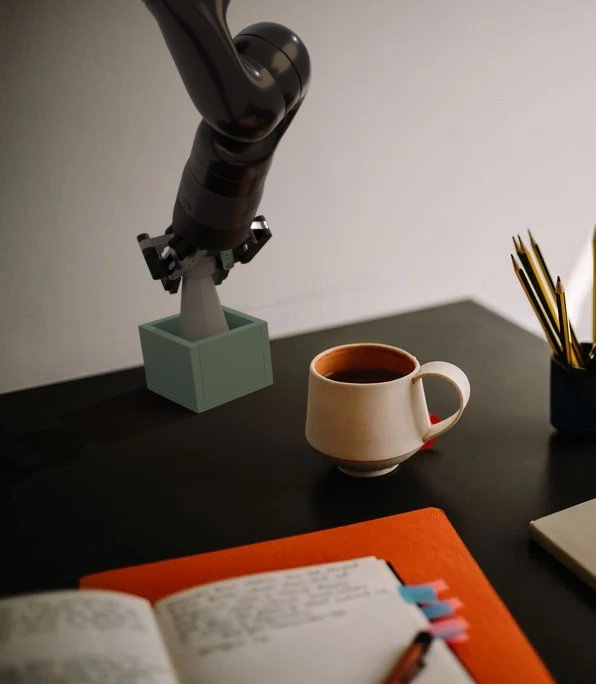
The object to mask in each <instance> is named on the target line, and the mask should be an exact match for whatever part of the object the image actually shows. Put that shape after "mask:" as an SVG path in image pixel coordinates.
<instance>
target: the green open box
mask: <svg viewBox="0 0 596 684" xmlns="http://www.w3.org/2000/svg"><path fill="white" fill-rule="evenodd" d="M221 306H222V309H223V312H224V315H225V318H226V321H227V324H228V327H229V331H226V332H223V333H220V334H217V335H214V336H211V337H208V338H205V339H202V340H199V341H196V342H193V343H192V342H189V341H187V340H185V339H182V338H180V337H179V325H180V312H179V313H176V314H172V315H169V316H165V317H162V318H158V319H155V320H152V321H149V322H146V323H142V324H138V325H137V328H138V333H139V341H140V347H141V354H142V360H143V368H144V373H145V379H146V380H145V381H146V386H147V390H150V391H151V392H153V393H155V394H157V395H160V396H162V397H164V398H166V399H168V400H169V401H171V402H174V403H176V404H178V405H180V406H181V407H184V408H186V409H188V410H190V411H192V412H194V413H196V414H199V415H200V414H201V413H205V412H207V411H209V410H212V409H215V408H217V407H219V406H222V405H224V404H227V403H230V402H232V401H234V400H238V399H239V398H242V397H244V396H247V395H250V394H253V393H255V392H257V391H261V390H262V389H265V388H267V387H271V386H273V385H274V375H273V374H274V373H273V365H272V356H271V355H272V354H271V353H272V352H271V344H270V333H269V321H267V320H263V319H262V318H258V317H256V316H253V315H250V314H247V313H245V312H242V311H240V310H237V309H234V308H231V307H228V306H226V305H223V304H221Z"/></svg>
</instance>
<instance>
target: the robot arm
mask: <svg viewBox="0 0 596 684" xmlns="http://www.w3.org/2000/svg"><path fill="white" fill-rule="evenodd" d="M233 1H234V0H140V2H141V3H143V4H144V7H145V8H146V9H147V10H148V12H149V13H150V14H151V16H152V17H153V18H154V20H155V22H156V24H157V27H158V28H159V30H160V33H161V35H162V38H163V40H164V42H165V45H166V47H167V50H168V52H169V54H170V56H171V59H172V60H173V62H174V65H175V67H176V70H177V72H178V74H179V77H180V79H181V82H182V83H183V86H184V88H185V90H186V92H187V94H188V96H189V98H190V100H191V102H192V104H193V105H194V107H195V108H196V110H197V112H198V113H199V115H200V116H201V117H202V118H201V120H200V122H199V124H198V125H197V128H196V130H195V134H194V138H193V141H192V144H191V150H190V153H189V157H188V158H187V160H186V162H185V165H184V167H183V170H182V174H181V178H180V181H179V185H178V189H177V193H176V199H175V202H174V205H173V210H172V217H171V218H172V221H171V223H170V225H169V226H168V227H166V229H165V230H164V234H162V235H157V236H154V237H151V236H150V234H149V233H148V232H142V233H139V234H138V235H137V236H136V241H137V243H138V246H139V248H140V250H141V251H140V252H141V253H142V257H143V259H144V261H145V263H146V266H147V268H148V271H149V273H150V275H151V278H152V280H153V281H160V283H161V286H162V288H163V291H165V292H168V293H169V295H176V294H178V291H179V289H180V286H181V283H182V276H181V275H182V274H183V273H184V272H185V270H191V269H192V268H193V266H194V265H195V264H196V263H197V262H198V260H199V259H201V258H204V257H214V256H215V259H216V264H217V269H216V271H215V272H214V273H213V274H212V277H213V280H214V284H215V287H216V286H221V285H223V281H226V279H227V278H228V277H229V273H230V271H231V270H232V269H234V268H235V264H237V263H240V264H241V265H246V264H250V263H251V261H252V260H253V259H254V258H255V257H256V256H257V255H258V254H259V252H260V251H261V250H262V249H263V248H264V247H265V245H266V244H267V243H268V242H269V241H270V240H271V239H272V237H273V234H272V231H271V229H270V226H269V224H268V222H267V220H266V217H265V216H264V215H262V214H260V215H257V212H258V210H259V207H260V205H261V203H262V199H263V196H264V193H265V186H266V181H267V178H268V175H269V173H270V170H271V168H272V165H273V163H274V159H275V154H276V151H277V150H278V147H279V145H280V142H281V141H282V139H283V138H284V136H285V134H286V133H287V131H288V129H289V128H290V126H291V124H292V122H293V121H294V119H295V118H296V115H297V114H298V112H299V110H300V108H301V107H302V105H303V103H304V101H305V99H306V97H307V95H308V93H309V90H310V87H311V84H312V79H313V77H312V75H313V67H312V66H313V65H312V60H311V56H310V53H309V50H308V48H307V46H306V45H305V43H304V41H303V40H302V39H301V37H300V36H299V35H298V34H297V33H296V32H295V31H294V30H292V29H291V28H289V27H288V26H286V25H284V24H281V23H278V22H274V21H259V22H256V23H252V24H250V25H248V26H246V27H244V28H242V30H240V31H239V32H238V33H237V34H236V35H235V36H234V37H233V36H232V34H231V30H230V28H229V24H228V14H229V11H230V8H231V6H232V4H233ZM256 215H257V216H256ZM166 248H168V249H167V251H166V252H165V249H166ZM164 252H165V254H164ZM162 254H164V255H162Z"/></svg>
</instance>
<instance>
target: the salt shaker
mask: <svg viewBox="0 0 596 684" xmlns="http://www.w3.org/2000/svg"><path fill="white" fill-rule="evenodd" d="M216 269H217V264H216V259H215V256H214V257H204V258H201V259H199V260H198V262H197V263H196V264H195V265H194V266H193V268H192V269H191V270H185V272H184V273H183V274H182V275H181V278H182V279H181V291H180V309H179V313H180V325H179V337H180V338H182V339H185V340H187V341H189V342H192V343H193V342H196V341H199V340H202V339H205V338H208V337H211V336H214V335H217V334H220V333H223V332H226V331H229V327H228V324H227V321H226V318H225V315H224V312H223V309H222V306H221V305H222V303H221V300H220V297H219V294H218V289H217V287H216V286H215V284H214V280H213V277H212V274H213V273H214V272H215V271H216Z"/></svg>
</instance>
